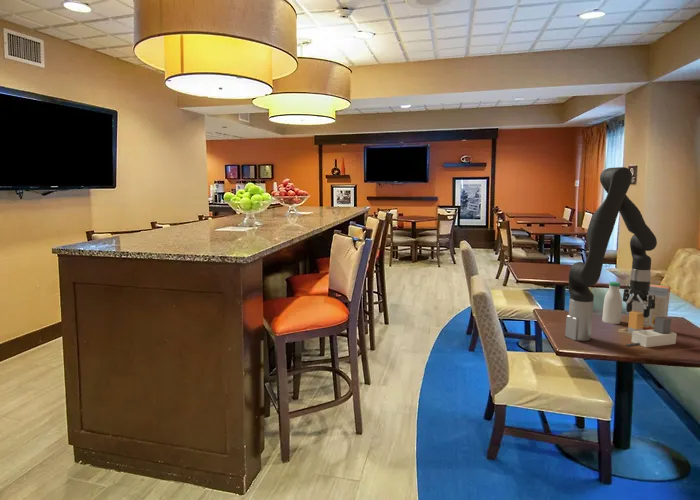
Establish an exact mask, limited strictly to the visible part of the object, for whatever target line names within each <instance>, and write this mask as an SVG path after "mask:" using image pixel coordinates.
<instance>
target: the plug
mask: <svg viewBox="0 0 700 500" xmlns="http://www.w3.org/2000/svg"><path fill="white" fill-rule="evenodd" d="M628 313H629V315H628V324H627V328H628V332H629V333H632V331H642V330H644V329H643V323H644V317H643V313H642V312H639V311H630V312H628Z"/></svg>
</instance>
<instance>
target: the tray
mask: <svg viewBox="0 0 700 500" xmlns="http://www.w3.org/2000/svg"><path fill="white" fill-rule="evenodd" d="M618 333H621V334H622V335H626V336H629V337H630V338H632V333H629V332H628V327H627V328H619V329H618Z"/></svg>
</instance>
